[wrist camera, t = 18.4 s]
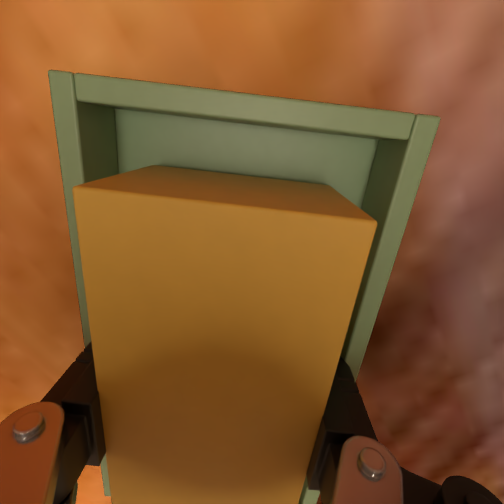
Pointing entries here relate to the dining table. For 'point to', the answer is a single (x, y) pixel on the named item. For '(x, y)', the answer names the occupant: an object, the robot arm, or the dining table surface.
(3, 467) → the robot arm
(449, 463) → the dining table surface
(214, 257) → the block
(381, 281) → the tray
